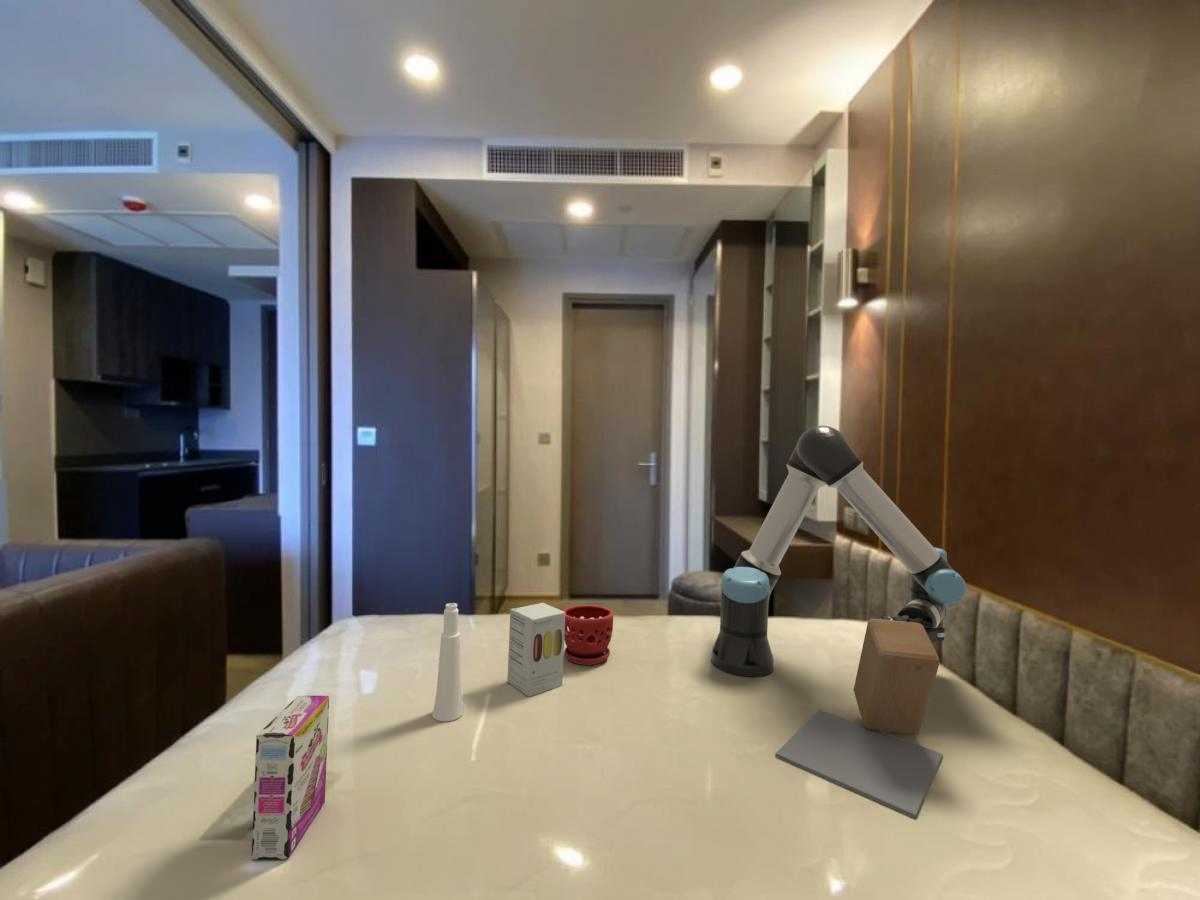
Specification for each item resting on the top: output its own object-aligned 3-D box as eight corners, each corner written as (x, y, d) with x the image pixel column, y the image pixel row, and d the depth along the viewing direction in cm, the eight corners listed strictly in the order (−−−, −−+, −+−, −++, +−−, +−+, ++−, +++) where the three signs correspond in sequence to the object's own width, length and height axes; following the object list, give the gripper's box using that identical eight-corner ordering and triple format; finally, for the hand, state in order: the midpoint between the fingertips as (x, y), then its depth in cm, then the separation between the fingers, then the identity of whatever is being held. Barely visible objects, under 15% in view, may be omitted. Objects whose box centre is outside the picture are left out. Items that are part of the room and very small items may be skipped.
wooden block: (919, 738, 101) (943, 660, 92) (863, 731, 103) (881, 654, 94) (903, 695, 110) (923, 621, 101) (851, 689, 112) (867, 615, 103)
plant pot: (621, 655, 137) (622, 609, 136) (593, 673, 126) (595, 623, 125) (579, 643, 144) (581, 600, 143) (550, 659, 133) (551, 612, 132)
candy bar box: (290, 861, 68) (293, 735, 67) (249, 862, 67) (252, 736, 67) (328, 801, 79) (330, 693, 79) (293, 802, 78) (295, 693, 78)
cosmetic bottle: (469, 714, 105) (473, 605, 105) (442, 725, 101) (445, 611, 100) (453, 703, 109) (456, 598, 109) (426, 713, 105) (429, 604, 104)
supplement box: (528, 698, 113) (531, 619, 112) (505, 682, 119) (508, 608, 119) (564, 685, 119) (566, 611, 119) (540, 671, 126) (543, 601, 126)
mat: (775, 756, 94) (775, 753, 94) (819, 712, 111) (819, 709, 111) (915, 818, 80) (915, 814, 80) (942, 757, 96) (942, 753, 96)
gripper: (950, 642, 120) (930, 675, 102) (886, 627, 128) (858, 655, 111) (952, 610, 120) (932, 636, 102) (888, 597, 128) (860, 619, 111)
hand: (894, 646), depth 106 cm, fingers closed
